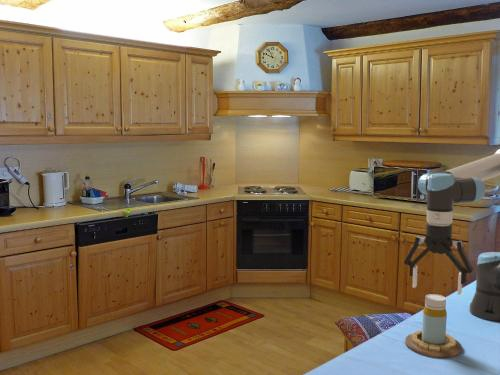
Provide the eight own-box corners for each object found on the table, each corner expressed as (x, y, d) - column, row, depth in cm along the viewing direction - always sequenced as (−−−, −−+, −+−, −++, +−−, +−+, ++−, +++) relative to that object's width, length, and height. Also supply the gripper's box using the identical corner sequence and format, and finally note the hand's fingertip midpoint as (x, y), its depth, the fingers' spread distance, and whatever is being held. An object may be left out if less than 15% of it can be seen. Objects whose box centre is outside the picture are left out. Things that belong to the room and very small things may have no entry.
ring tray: (441, 332, 178) (441, 325, 178) (473, 354, 162) (473, 347, 161) (395, 337, 174) (395, 330, 174) (423, 360, 158) (424, 352, 157)
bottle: (446, 348, 164) (449, 301, 162) (423, 346, 165) (425, 300, 163) (443, 339, 170) (445, 294, 168) (420, 337, 172) (422, 293, 170)
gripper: (395, 221, 166) (393, 286, 169) (480, 230, 153) (477, 300, 156) (402, 217, 172) (400, 280, 175) (484, 225, 159) (481, 293, 162)
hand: (436, 290), depth 166 cm, fingers open, 13 cm apart
